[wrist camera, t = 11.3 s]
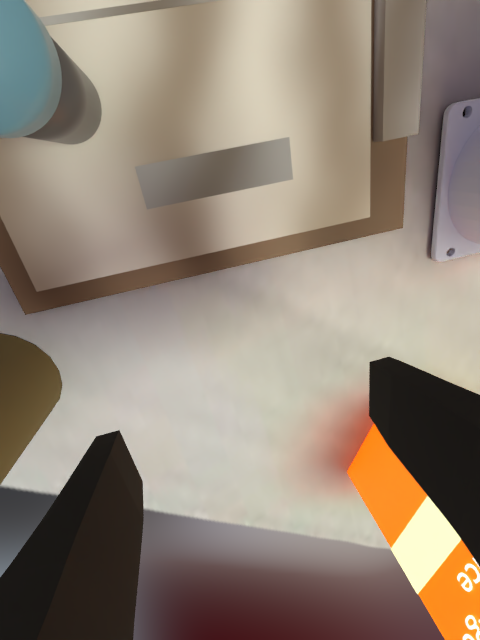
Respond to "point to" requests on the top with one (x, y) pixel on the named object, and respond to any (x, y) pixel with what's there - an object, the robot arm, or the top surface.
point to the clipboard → (212, 140)
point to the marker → (41, 83)
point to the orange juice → (420, 539)
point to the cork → (23, 396)
